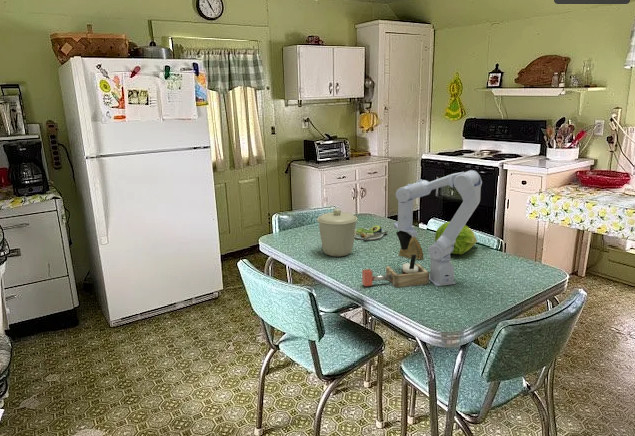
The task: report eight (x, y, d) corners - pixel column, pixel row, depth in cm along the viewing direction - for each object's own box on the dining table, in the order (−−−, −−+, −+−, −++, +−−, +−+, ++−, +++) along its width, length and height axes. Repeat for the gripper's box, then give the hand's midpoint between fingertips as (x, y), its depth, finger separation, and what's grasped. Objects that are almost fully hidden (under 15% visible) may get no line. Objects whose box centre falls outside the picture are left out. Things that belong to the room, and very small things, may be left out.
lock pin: (391, 283, 174) (392, 269, 172) (364, 286, 171) (364, 272, 170) (389, 280, 176) (389, 267, 175) (362, 283, 174) (362, 269, 173)
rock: (430, 254, 199) (420, 244, 208) (421, 241, 195) (411, 231, 204) (411, 269, 199) (401, 259, 208) (401, 257, 195) (392, 247, 204)
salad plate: (380, 244, 222) (380, 235, 220) (345, 240, 228) (345, 232, 227) (389, 233, 239) (389, 224, 238) (356, 230, 246) (356, 222, 244)
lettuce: (456, 250, 221) (484, 262, 209) (423, 245, 206) (450, 257, 194) (466, 221, 219) (495, 231, 206) (433, 213, 204) (462, 224, 191)
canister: (336, 262, 198) (335, 215, 192) (309, 252, 211) (308, 208, 206) (365, 253, 209) (365, 208, 203) (339, 244, 222) (338, 201, 217)
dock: (428, 283, 174) (429, 272, 173) (395, 287, 171) (395, 276, 170) (417, 273, 183) (417, 263, 182) (385, 277, 181) (386, 266, 180)
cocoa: (404, 274, 184) (405, 245, 180) (420, 276, 181) (421, 247, 178) (399, 283, 175) (399, 253, 172) (415, 285, 173) (416, 255, 170)
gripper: (424, 219, 175) (423, 253, 179) (404, 211, 189) (403, 242, 192) (408, 221, 173) (407, 255, 177) (389, 213, 186) (388, 244, 190)
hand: (404, 249), depth 184 cm, fingers closed
